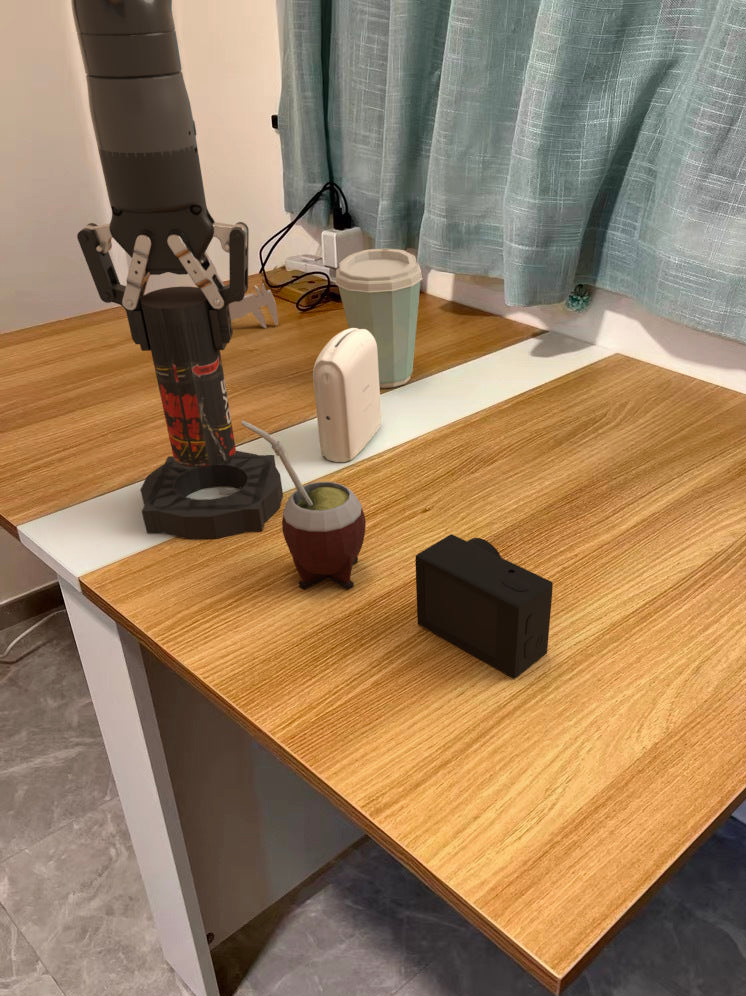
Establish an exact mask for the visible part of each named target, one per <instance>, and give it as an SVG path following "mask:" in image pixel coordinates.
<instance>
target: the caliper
mask: <svg viewBox="0 0 746 996" xmlns="http://www.w3.org/2000/svg"><path fill="white" fill-rule="evenodd" d="M254 289H255V293H256V294H255V293H254V292H253V293H249V294H245V295H244V298H243V300H242V301H240V302H236V301H235V302H232V303H230V304H229V311H230V317H231V322H232V321H234V320H236V319H242V318H244V317H245V316H247V315H248V314H250V313H252V315H253V316H254V317H255V319H256V320H257V322H258V323H259V324H260V325H261V327H262V328H264V329H268V328H267V323H266V319H265V317H264V314H263V312H262V309H261V308H263V307H266V306H267V309H268V311H269V313H270V316H271V318H272V321H273V324H274V326H275V327H276V326H278V325H279V317H278V309H277V302H276V300H275V298H274V295H273V293H272V291H271V289H266V285H265V283H264V282H263V283H262V284H261V289H260V288H259V287H258V286H257V285H256V284H255V285H254Z"/></svg>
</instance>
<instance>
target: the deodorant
mask: <svg viewBox="0 0 746 996" xmlns="http://www.w3.org/2000/svg"><path fill="white" fill-rule="evenodd" d="M141 305H142V310H143V315H144V320H145V324H146V329H147V334H148V339H149V343H150V348H151V351H150V352H151V357H152V363H153V367H154V372H155V376H156V382H157V386H158V391H159V395H160V400H161V405H162V410H163V415H164V419H165V424H166V429H167V435H168V438H169V444H170V447H171V452H172V456H173V458H174V459H175V461H176V462H177V463H179V464H181V465H184V466H189V467H208V466H213V465H218V464H220V463H223V462H225V461H227V460H229V459H230V458H231V457H233V456H234V454H235V452H236V451H237V449H236V441H235V435H234V428H233V423H232V417H231V410H230V404H229V398H228V391H227V387H226V380H225V374H224V367H223V361H222V355H221V350H216V349H215V345H214V339H213V333H212V327H211V321H210V315H209V309H210V308H211V304H210V303H209V301H208V300H207V298H206V297H205V295H204V294H203V292H202V290H201V289H200V288H199V287H197V286H169V287H165V288H159V289H155V290H153V291H150V292H147V293H146V294H144V296H143V297H142V298H141Z"/></svg>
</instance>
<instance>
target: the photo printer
mask: <svg viewBox="0 0 746 996" xmlns="http://www.w3.org/2000/svg"><path fill="white" fill-rule="evenodd" d="M312 381H313V391H314V401H315V410H316V421H317V430H318V439H319V440H318V441H319V449H320V450H319V451H320V454H321V456H323V457H324V458H325V459H326V460H328V461H330V462H335V463H346V462H348V461H351V460H353V459H354V458H355V457H356V456H358V455H359V454H360V452H361V451H362V450H363V449H364V448H365V447H366V446H367V444H368V443H369V442H370V441H371V439H372V438H374V436H375V435H376V433H377V431H379V429H380V427H381V424H382V409H381V408H382V407H381V388H380V387H379V370H378V353H377V344H376V341H375V339H374V337H373V336H372V334H371V333H370V332H369V331H367V330H366V329H358V328H350V329H349V328H347V329H344V330H342V331H340V332H338V333H337V334H335V335H334V336H333V337H332V338H331V339H329V341H328V342H327V343H326V344H325V345H324V347H323V348H322V349H321V351H320V352H319V354H318V356H317V357H316V360H315V362H314V365H313V369H312Z"/></svg>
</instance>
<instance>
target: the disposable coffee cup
mask: <svg viewBox="0 0 746 996" xmlns="http://www.w3.org/2000/svg"><path fill="white" fill-rule="evenodd" d="M338 266H339V267H338V268H336V270H335V286H338V290H339V295H340V300H341V303H342V306H343V310H344V316H345V319H346V323H347V328H348V329H350V328H358V329H366V330H367V331H369V332H370V333H371V334H372V336H373V337H374V339H375V341H376V344H377V353H378V370H379V387H380V389H388V388H396V387H400V386H402V385H405V384H407V383H408V382H409V381H410V380H411V377H412V375H413V370H414V359H415V350H416V349H415V348H416V339H417V337H416V336H417V327H418V326H417V325H418V314H419V305H420V303H419V301H420V291H421V281H422V280H423V279H424V278H423V275H422V270H421V265H420V264H419V263H417V259H416V256H415V255H414V254H412V253H409V252H408V251H406V250H404V249H397V248H396V249H395V248H371V249H364V250H360V251H357V252H354V253H351V254H349V255H347V256H346V257H345V258H344V259H342V260H341V261H340V262H339V264H338Z"/></svg>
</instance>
